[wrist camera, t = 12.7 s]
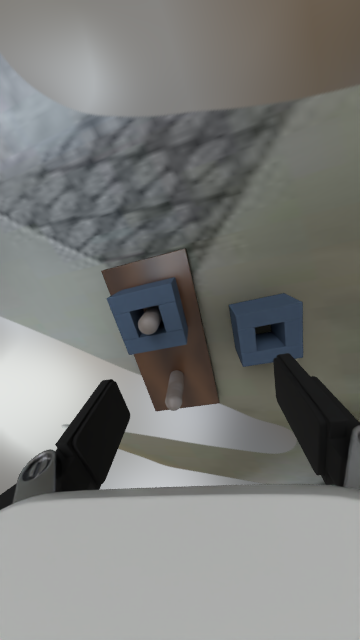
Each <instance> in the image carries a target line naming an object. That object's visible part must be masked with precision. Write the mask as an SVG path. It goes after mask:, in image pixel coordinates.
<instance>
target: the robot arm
mask: <svg viewBox="0 0 360 640" xmlns="http://www.w3.org/2000/svg"><path fill="white" fill-rule="evenodd" d="M273 361H274V375H275V388H276V398H277V402H278V404H279V406H280V408H281V410H282V411H283V413H284V415H285V417H286V419H287V421H288V423H289V425H290V427H291V429H292V430H293V432H294V434H295V436H296V438H297V440H298V442H299V444H300V446H301V447H302V449H303V451H304V453H305V455H306V457H307V459H308V461H309V463H310V465H311V466H312V468H313V470H314V472H315V473H316V474H317V475H321V476H322V478H323V480H324V482H325V484H326V485H313V484H259V485H223V486H191V487H160V488H133V489H132V488H131V489H106V490H99V489H100V486H101V484H102V483H103V482H104V481H105V479H106V477H107V474H108V472H109V469H110V467H111V464H112V462H113V459H114V457H115V454H116V452H117V449H118V447H119V444H120V442H121V439H122V437H123V434H124V432H125V429H126V427H127V424H128V422H129V419H130V412H129V410H128V408H127V406H126V403H125V401H124V399H123V397H122V394H121V392H120V390H119V388H118V385H117V383H116V382H114V381H113V380H112V379H110V380H103V381H102V382H101V383H100V384H99V386H98V387H97V388H96V390H95V391H94V392H93V394H92V395H91V397H90V398H89V399H88V401H87V402H86V403H85V405H84V406H83V408H82V409H81V410H80V412H79V413H78V414H77V416H76V417H75V418H74V420H73V421H72V423H71V424H70V425H69V427H68V428H67V429H66V431H65V432H64V433H63V435H62V436H61V438H60V439H59V440H58V442H57V443H56V444H55V445H56V446H57V450H56V451H53V450H46V451H44V452H42V453H40V454H38V455H37V456H35V457H34V458H33V459H32V460H31V461H29V462H28V463H27V465H26V466H25V467H24V468H23V470H22V471H21V473H20V475H19V477H18V480H17V483H16V484H15V485H14V486H12V487H11V488H10V489H8V490H7V491H5V492H4V493H2V494H1V495H0V640H360V423H359V422H358V421H357V419H356V418H355V417H354V416H353V415H352V414H351V413H350V412H349V411H348V410H347V409H346V408H345V407H344V406H343V405H342V404H341V402H340V401H339V400H338V399H337V398H336V397H335V396H334V395H333V394H332V393H331V392H330V391H329V390H328V389H327V388H326V386H325V385H324V384H323V383H322V382H321V381H320V380H319V379H318V378H317V377H315V376H312V377H310V376H309V375H308V373H307V372H306V371H305V370H304V369H303V368H302V367H301V366H300V365H299V363H298V362H297V361H296V360H295V359H294V358H293V357H292V356H291V354H289V353H285V354H278V355H277V358H274V359H273ZM331 485H336V486H331Z"/></svg>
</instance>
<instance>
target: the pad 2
mask: <svg viewBox="0 0 360 640" xmlns="http://www.w3.org/2000/svg"><path fill="white" fill-rule="evenodd" d="M229 310H230V316H231V323H232V329H233V335H234V342H235V348H236V351H237V354H238V356H239V358H240V361H241V363H242V365H243V367H246V366H252V365H258V364H265V363H271V362H274V361H273V359H274V358H277V355H278V354H285V353H289V354H291V356H292V357H293V358H294V359H297V358H303V319H302V318H303V302H301V301H299V300H297V299H295V298H293V297H291V296H289V295H286V294H284V293H283V294H278V295H273V296H268V297H264V298H259V299H254V300H249V301H245V302H240V303H235V304H230V305H229ZM270 324H271V332H266V333H260V334H255V327H259V326H265V325H270Z"/></svg>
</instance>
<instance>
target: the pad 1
mask: <svg viewBox="0 0 360 640" xmlns="http://www.w3.org/2000/svg"><path fill="white" fill-rule="evenodd" d="M107 301H108V303H109V306H110V308H111V311H112V313H113V316H114V318H115V321H116V323H117V326H118V328H119V331H120V333H121V336H122V338H123V341H124V343H125V346H126V348H127V351H128V353H129V355H132V354H137V353H143V352H148V351H154V350H159V349H165V348H170V347H176V346H181V345H186V344H187V337H188V326H187V322H186V318H185V315H184V311H183V307H182V303H181V299H180V295H179V291H178V287H177V283H176V279H175V277H173V278H169V279H165V280H161V281H157V282H152V283H148V284H144V285H140V286H136V287H132V288H128V289H124V290H121V291H119V292H117V293H116V294H114V295H112V296H110V297H108V298H107ZM156 305H158V306H159V310H160V313H161V316H162V320H163V321H161V322H160V324H159V327H158V329H157V330H156V332H154V333H153V334H150V335H146V334H143V333H142V332H141V331H140V330H139V328H138V321H139V319H140V318H141V316H142V315H143V314H144V311H143V308H148V307H152V306H156Z"/></svg>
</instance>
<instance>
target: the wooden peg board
mask: <svg viewBox="0 0 360 640" xmlns="http://www.w3.org/2000/svg"><path fill="white" fill-rule="evenodd" d="M101 272H102V274H103V277H104V279H105V282H106V284H107V287H108V290H109V292H110V295H111V296H112V295H114V294H116V293H117V292H119V291H121V290H124V289H128V288H132V287H136V286H140V285H144V284H148V283H152V282H157V281H161V280H165V279H169V278H173V277H175V279H176V283H177V287H178V291H179V295H180V299H181V303H182V307H183V311H184V315H185V318H186V322H187V326H188V337H187V344H186V345H181V346H176V347H170V348H165V349H159V350H154V351H148V352H143V353H137V354H134V357H135V359H136V362H137V364H138V367H139V369H140V372H141V375H142V377H143V380H144V382H145V385H146V387H147V390H148V393H149V395H150V398H151V400H152V403H153V405H154V408H155V411H162V410H177V409H179V408H186V407H194V406H201V405H209V404H217V403H219V397H218V392H217V388H216V383H215V379H214V374H213V370H212V365H211V360H210V356H209V351H208V347H207V342H206V338H205V333H204V329H203V324H202V319H201V315H200V310H199V306H198V301H197V297H196V292H195V287H194V283H193V278H192V274H191V269H190V265H189V260H188V256H187V251H186V249H181V250H177V251H174V252H170V253H166V254H162V255H159V256H155V257H151V258H147V259H144V260H140V261H136V262H132V263H129V264H125V265H121V266H118V267H114V268H110V269H106V270H103V271H101ZM143 311H144V314H143V315H142V316H141V318H140V319H139V321H138V328H139V330H140V331H141V332H142V333H143V334H146V335H150V334H153V333H154V332H156V330H157V329H158V327H159V324H160V322H161V321H163V320H162V316H161V313H160V310H159V306H158V305H156V306H152V307H148V308H143Z"/></svg>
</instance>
